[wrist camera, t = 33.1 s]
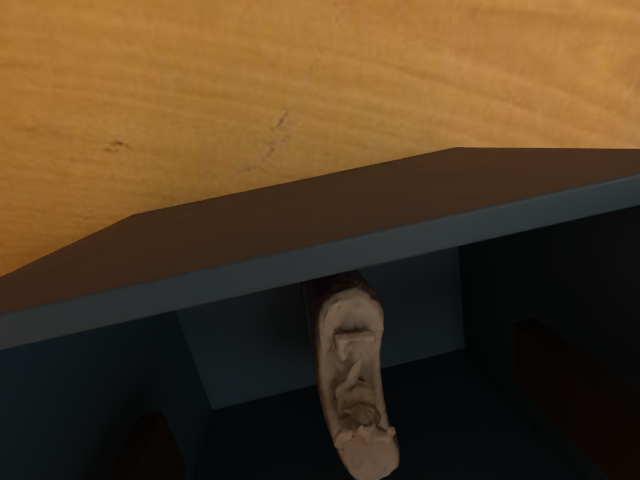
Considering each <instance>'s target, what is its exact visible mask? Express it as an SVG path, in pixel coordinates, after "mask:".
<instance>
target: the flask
mask: <svg viewBox="0 0 640 480" xmlns="http://www.w3.org/2000/svg"><path fill="white" fill-rule="evenodd" d="M299 286H300V289H301V296H302V300H303V303H304V307H305V315H306V320H307V325H308V331H309V338H310V344H311V350H312V355H313V363H314V370H315V377H316V383H317V388H318V394H319V398H320V403H321V407H322V410H323V414H324V419H325V421H326V424H327V426H328V430H329V433H330V435H331V438H332V440H333V443H334V446H335V448H336V450H337V452H338V455H339V457H340V459H341V461H342V462H343V465H344V467H345V468H346V469H347V470H348V471H349V473H350V474H351V475H352V476H353V478H355V479H356V480H380V479H381V478H383V477H386V476H389V474H390V473H391V472H392V471H393V470H394V469H396V468H398V465H399V449H400V448H399V445H398V442H397V437H396V432H395V428H394V427H392V426H391V424H390V422H389V419H388V417H387V412H386V404H385V402H384V393H383V387H382V377H381V368H380V349H381V341H382V335H383V331H384V324H383V321H384V315H383V308H382V306H381V304H380V302H379V300H378V298H377V295H376V293H375V292H374V290H373V289H372V287H371V286H370V284H369V282H368V281H367V280H365V278H364V276H363V274H362V273H361V272H360V271H359V270H358V269H356V270H351V271H347V272H343V273H338V274H334V275H329V276H325V277H321V278H316V279H312V280H307V281H303V282H299Z"/></svg>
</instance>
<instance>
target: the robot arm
mask: <svg viewBox="0 0 640 480" xmlns="http://www.w3.org/2000/svg"><path fill="white" fill-rule="evenodd" d="M514 382H515V383H516V384H517V385H518V387H519V388H520V389H521V390H522V391H523V392H524V393H525V394H526V395H527V396H528V397H529V398H530V399H531V400H532V401H533V402H534V403H535V404H536V405H537V406H538V407H539V408H540V409H541V410H542V411H543V412H544V413H545V414H546V415H547V416H548V417H549V418H550V419H551V420H552V421H553V422H554V423H555V424H556V425H557V427H558V428H559V429H560V430H561V431H562V432H563V433H564V434H565V435H566V436H567V437H568V438H569V439H570V440H571V441H572V442H573V443H574V444H575V445H576V446H577V447H578V448H579V449H580V450H581V451H582V452H583V453H584V454H585V455H586V456H587V457H588V458H589V459H590V460H591V461H592V462H593V463H594V464H595V465H596V466H597V468H598V469H599V470H600V471H601V472H602V473H603V474H604V475H605V476H606V477H607V478H608V479H609V480H640V392H639V391H637V390H636V389H635V388H633V387H632V386H630V385H629V384H627V383H626V382H625V381H623V380H622V379H620V378H619V377H617V376H616V375H615V374H613V373H612V372H610V371H609V370H607V369H606V368H605V367H603V366H602V365H600V364H599V363H597V362H596V361H594V360H593V359H592V358H590V357H589V356H587V355H586V354H584V353H583V352H582V351H580V350H579V349H577V348H576V347H574V346H573V345H572V344H570V343H569V342H567V341H566V340H564V339H563V338H562V337H560V336H559V335H557V334H556V333H554V332H553V331H552V330H550V329H549V328H547V327H546V326H544V325H543V324H542V323H540V322H539V321H537V320H536V319H534V318H533V319H529V320H525V321H520V322H516V323H515V328H514ZM186 469H187V466H186V464H185V461H184V459H183V457H182V455H181V452H180V450H179V448H178V446H177V443H176V441H175V439H174V437H173V434H172V432H171V430H170V428H169V426H168V423H167V421H166V419H165V417H164V414H163V412H162V410H161V411H157V412H153V413H149V414H145V415H141V416H139V417H138V419H137V421H136V423H135V425H134V427H133V429H132V431H131V433H130V436H129V438H128V440H127V442H126V444H125V446H124V448H123V450H122V452H121V454H120V456H119V458H118V460H117V462H116V464H115V466H114V468H113V470H112V472H111V474H110V476H109V478H108V480H184V476H185V473H186Z"/></svg>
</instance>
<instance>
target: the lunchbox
mask: <svg viewBox="0 0 640 480" xmlns="http://www.w3.org/2000/svg"><path fill="white" fill-rule="evenodd" d="M356 269H358V270H359V271H360V272H361V273H362V274H363V276H364V278H365V280H367V281H368V282H369V284H370V286H371V287H372V289H373V290H374V292H375V293H376V295H377V298H378V300H379V302H380V304H381V306H382V308H383V315H384V321H383V324H384V331H383V335H382V341H381V349H380V368H381V377H382V387H383V393H384V402H385V404H386V412H387V417H388V419H389V422H390V424H391V426H392V427H394V428H395V432H396V437H397V442H398V445H399V448H400V449H399V465H398V468H396V469H394V470H393V471H392V472H391V473H390V474H389V476H386V477H383V478H381V479H380V480H609V479H608V478H607V477H606V476H605V475H604V474H603V473H602V472H601V471H600V470H599V469H598V468H597V466H596V465H595V464H594V463H593V462H592V461H591V460H590V459H589V458H588V457H587V456H586V455H585V454H584V453H583V452H582V451H581V450H580V449H579V448H578V447H577V446H576V445H575V444H574V443H573V442H572V441H571V440H570V439H569V438H568V437H567V436H566V435H565V434H564V433H563V432H562V431H561V430H560V429H559V428H558V427H557V425H556V424H555V423H554V422H553V421H552V420H551V419H550V418H549V417H548V416H547V415H546V414H545V413H544V412H543V411H542V410H541V409H540V408H539V407H538V406H537V405H536V404H535V403H534V402H533V401H532V400H531V399H530V398H529V397H528V396H527V395H526V394H525V393H524V392H523V391H522V390H521V389H520V388H519V387H518V385H517V384H516V383H515V382H514V328H515V323H516V322H520V321H525V320H529V319H533V318H534V319H536V320H537V321H539V322H540V323H542V324H543V325H544V326H546V327H547V328H549V329H550V330H552V331H553V332H554V333H556V334H557V335H559V336H560V337H562V338H563V339H564V340H566V341H567V342H569V343H570V344H572V345H573V346H574V347H576V348H577V349H579V350H580V351H582V352H583V353H584V354H586V355H587V356H589V357H590V358H592V359H593V360H594V361H596V362H597V363H599V364H600V365H602V366H603V367H605V368H606V369H607V370H609V371H610V372H612V373H613V374H615V375H616V376H617V377H619V378H620V379H622V380H623V381H625V382H626V383H627V384H629V385H630V386H632V387H633V388H635V389H636V390H637V391H639V392H640V149H587V148H464V147H456V148H451V149H446V150H442V151H437V152H432V153H427V154H422V155H418V156H413V157H408V158H403V159H398V160H394V161H389V162H384V163H379V164H374V165H370V166H365V167H360V168H355V169H350V170H346V171H341V172H336V173H331V174H326V175H322V176H317V177H312V178H307V179H302V180H297V181H293V182H288V183H283V184H278V185H273V186H269V187H264V188H259V189H254V190H249V191H245V192H240V193H235V194H230V195H225V196H221V197H216V198H211V199H206V200H201V201H197V202H192V203H187V204H182V205H177V206H173V207H168V208H163V209H158V210H153V211H149V212H144V213H139V214H134V215H131V216H129V217H127V218H125V219H123V220H121V221H119V222H117V223H115V224H113V225H110V226H108V227H106V228H104V229H102V230H100V231H98V232H96V233H93V234H91V235H89V236H87V237H85V238H83V239H81V240H78V241H76V242H74V243H72V244H70V245H68V246H66V247H63V248H61V249H59V250H57V251H55V252H53V253H51V254H49V255H46V256H44V257H42V258H40V259H38V260H36V261H34V262H31V263H29V264H27V265H25V266H23V267H21V268H19V269H16V270H14V271H12V272H10V273H8V274H6V275H4V276H2V277H0V480H108V478H109V476H110V474H111V472H112V470H113V468H114V466H115V464H116V462H117V460H118V458H119V456H120V454H121V452H122V450H123V448H124V446H125V444H126V442H127V440H128V438H129V436H130V433H131V431H132V429H133V427H134V425H135V423H136V421H137V419H138V417H139V416H141V415H145V414H149V413H153V412H157V411H161V410H162V412H163V414H164V417H165V419H166V421H167V423H168V426H169V428H170V430H171V432H172V434H173V437H174V439H175V441H176V443H177V446H178V448H179V450H180V452H181V455H182V457H183V459H184V461H185V464H186V466H187V469H186V473H185V476H184V480H356V479H355V478H353V476H352V475H351V474H350V473H349V471H348V470H347V469H346V468H345V467H344V465H343V462H342V461H341V459H340V457H339V455H338V452H337V450H336V448H335V446H334V443H333V440H332V438H331V435H330V433H329V430H328V426H327V424H326V421H325V419H324V414H323V410H322V407H321V403H320V398H319V394H318V388H317V383H316V377H315V370H314V363H313V355H312V350H311V344H310V338H309V331H308V325H307V320H306V315H305V307H304V303H303V300H302V296H301V289H300V286H299V282H303V281H307V280H312V279H316V278H321V277H325V276H329V275H334V274H338V273H343V272H347V271H351V270H356Z"/></svg>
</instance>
